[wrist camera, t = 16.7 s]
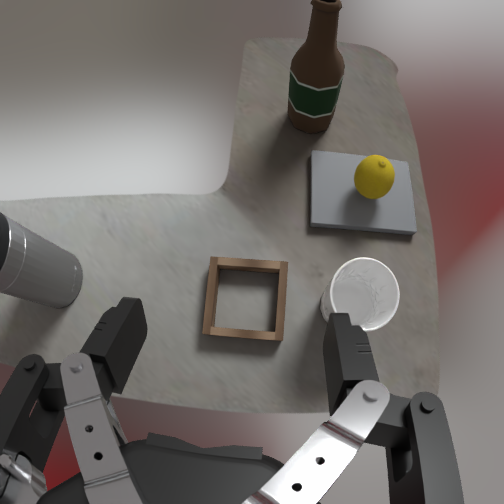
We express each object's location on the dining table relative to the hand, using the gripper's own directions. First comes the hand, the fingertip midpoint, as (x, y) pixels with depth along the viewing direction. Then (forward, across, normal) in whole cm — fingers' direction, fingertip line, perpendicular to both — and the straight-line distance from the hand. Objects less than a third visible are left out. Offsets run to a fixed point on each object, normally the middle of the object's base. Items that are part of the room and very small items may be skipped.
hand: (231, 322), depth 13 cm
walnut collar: (+24, +1, +17) cm, 29 cm away
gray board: (+36, -15, +5) cm, 39 cm away
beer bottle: (+46, -7, -4) cm, 46 cm away
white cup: (+24, -12, +17) cm, 32 cm away
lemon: (+34, -15, +4) cm, 38 cm away
